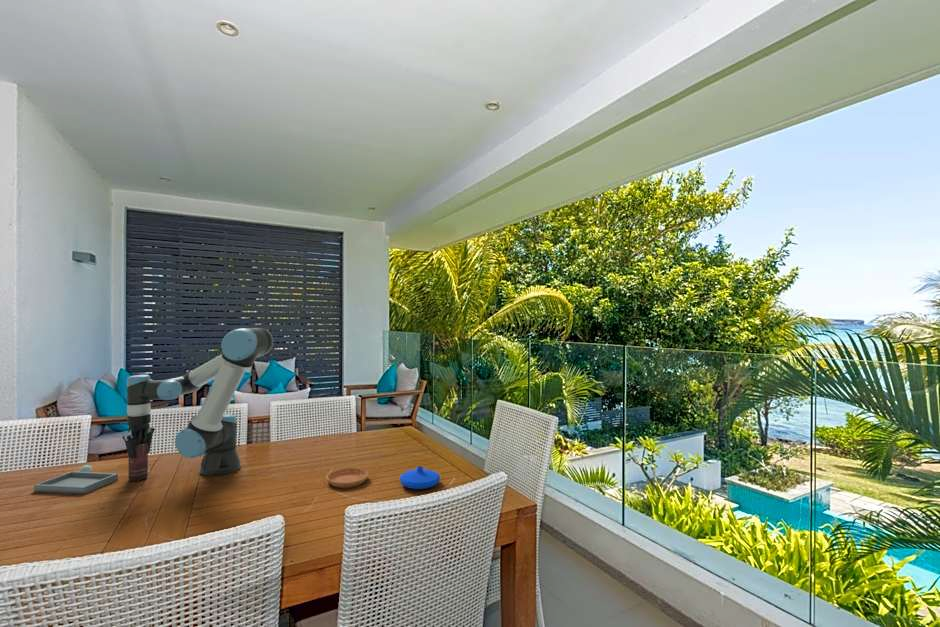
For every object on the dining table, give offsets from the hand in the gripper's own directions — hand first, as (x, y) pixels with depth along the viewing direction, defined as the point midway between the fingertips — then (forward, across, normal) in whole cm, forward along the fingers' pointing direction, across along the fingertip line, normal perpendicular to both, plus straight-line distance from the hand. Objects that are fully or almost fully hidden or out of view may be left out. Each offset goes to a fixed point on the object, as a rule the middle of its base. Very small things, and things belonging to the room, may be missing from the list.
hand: (139, 473), depth 176 cm
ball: (+2, -2, -26) cm, 26 cm away
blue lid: (+5, -8, +111) cm, 112 cm away
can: (+2, 0, 0) cm, 2 cm away
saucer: (+4, -8, +82) cm, 83 cm away
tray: (+2, +9, -18) cm, 20 cm away
